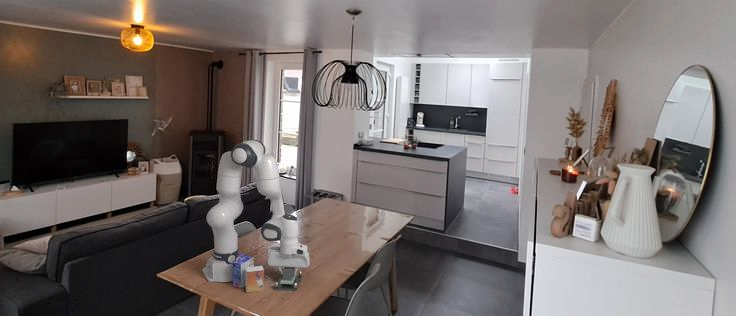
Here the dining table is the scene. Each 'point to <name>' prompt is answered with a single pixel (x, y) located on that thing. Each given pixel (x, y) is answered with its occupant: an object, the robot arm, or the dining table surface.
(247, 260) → the ink cartridge box
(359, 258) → the dining table surface
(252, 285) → the small box
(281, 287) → the chassis plate
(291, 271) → the circuit board
